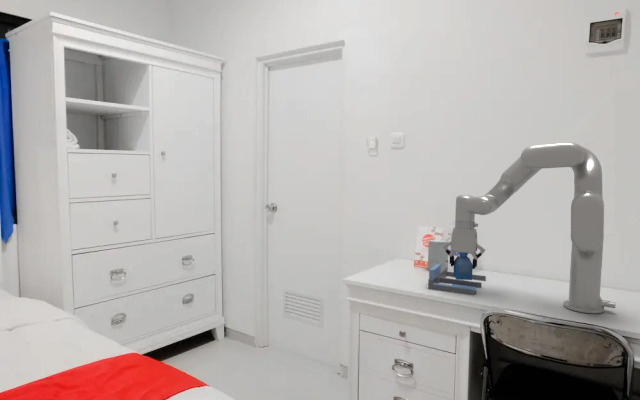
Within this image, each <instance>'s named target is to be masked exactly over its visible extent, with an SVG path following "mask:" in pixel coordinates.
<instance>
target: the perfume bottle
mask: <svg viewBox="0 0 640 400" xmlns="http://www.w3.org/2000/svg"><path fill="white" fill-rule="evenodd" d="M458 254H459V255H458V256H456V258H454V265H453V272H454V273H453V276H454V277H453V278H454V279H457V280H465V281H472V280H473V279H472V274H473V270H474V269H473V262H472V261H471V258H470V257H469V256H468V254H469V253H460V252H458Z"/></svg>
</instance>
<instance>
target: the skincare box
mask: <svg viewBox="0 0 640 400" xmlns="http://www.w3.org/2000/svg"><path fill="white" fill-rule="evenodd" d="M447 243H449V241H448V240H443V239H442V240H441V239H433V240H428V248H427V249H428V252H427V253H428V255H427V270H428V271H429V269H431V268H432V267H433V266H434V265H436V264H441V268H442V267H448V268H449V255H448V254H447V253H446V251H445V250H444V248H443V246H444V245H446V244H447Z"/></svg>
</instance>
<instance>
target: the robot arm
mask: <svg viewBox="0 0 640 400" xmlns="http://www.w3.org/2000/svg"><path fill="white" fill-rule="evenodd" d="M555 168H556V169H558V168H570V169H572V170H573V175H574V176H573V177H574V178H573V179H574V180H573V184H574V187H573V188H574V190H573V191H574V193H573V199H572V200H571V204H570V240H571V252H570V268H569V271H570V272H569V288H568V300H564V301H563V306H564V307H565V308H567V309H569V310H572V311H575V312H578V313H584V314H596V315H597V314H603V313H604V312H605V307H606V308H610V309H616V305H617V304H616V302H611V300H603V299H602V298H601V287H602V286H601V283H602V282H601V281H602V266H603V253H604V251H603V250H604V237H605V234H604V233H605V232H604V230H605V227H604V226H605V224H604V223H605V203H604V199H603V197H604V195H603V171H602V165H601V163H600V160H599V159H598V157H597V155H596V154H594V153H593V152H592V151H591V150H589V149H587V148H586V147H584V146H581V145H580V144H578V143H576V142H561V143H551V144H535V145H529V146H527V147H525V148H524V149H523V150H522V152H521V153H520V156H519V157H518V158H517V160H515V161H514V162H513V163H512V164H511V165H510V166H509V167H508V168H506V170H504V172H503V173H502V174H501V176H500V178H499V180H498V181H497V183H496V184H495V185H494V186H493V187H492V188H491V189H490V190H488V192H487V193H486V194H485V195H481V196H480V195H479V196H473V195H466V194H465V195H463V194H461V195H457V196H456V197H455V198H456V199H455V219H454V227H453V228H452V234H451V239H450V242H449V243H447V244H446V245H444V246H443V248H444V250H445V251H446V253H447V254H448V258H449V264H450V267H454V261H455V253H459V252H460V253H468V254H471V256H472V257H473V258H472V265H473V270H475V269H476V268H477V267H478V259H479V258H480V257H481V256H482V255H483V254H484V253H485V252H486V249H485V248H484V247H482V246H481V245H480V244H478V233H477V228H478V227H479V223H476V222H475V217H476V216H475V215H480V216H486V215H490V214H491V213H494V212H496V211H497V210H498V209H500V207H501V206H503V204H504V203H506V202H507V200H509V199H510V198H511V197H512V196H513V195H515V194H516V193H517V192H518V191H519V190H520V189H521V188H522V187H523V186H524V185H525V184H526V183H527V182H529V180H531V179H532V178H533V177H534V176H535V175H536V174H537V173H539V172H540V171H541V170H542V169H555ZM449 247H450V249H449ZM478 250H479V251H480V252H479V253H478V254H477V253H476V252H477V251H478Z"/></svg>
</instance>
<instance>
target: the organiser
mask: <svg viewBox="0 0 640 400" xmlns="http://www.w3.org/2000/svg"><path fill="white" fill-rule="evenodd" d="M448 269H449V266H448V267H442V268H441V264H436V265H434V266H433V267H432V268H431V269H429V270H428V280H427V282H428V283H427V285H428V286H427V289H428V290H435V291H441V292H446V293H447V292H448V293H455V294H460V295H462V294H463V295H468V296H475V295H476V296H477V291H478V290H477V288H479V289H481V288H482V284H483V283H482V282H486V281H487V277H486V275H481V274H473V273H472V280H475V281H472V280H457V279H456V278H455V277H454V276H453V273H454V271H448ZM448 277H453V278H448ZM478 281H479V282H478ZM480 281H482V282H480Z"/></svg>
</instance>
